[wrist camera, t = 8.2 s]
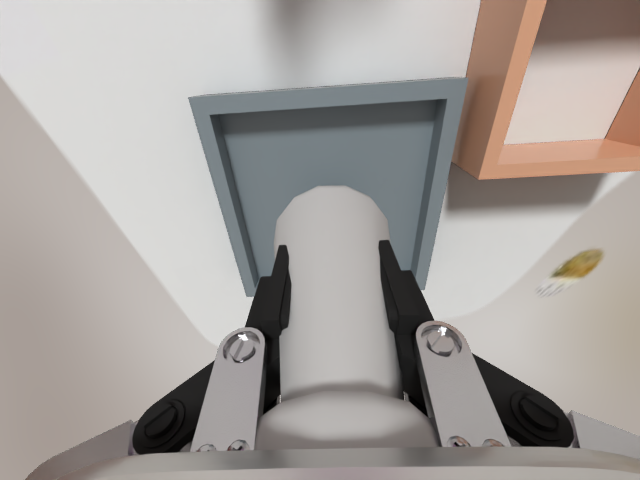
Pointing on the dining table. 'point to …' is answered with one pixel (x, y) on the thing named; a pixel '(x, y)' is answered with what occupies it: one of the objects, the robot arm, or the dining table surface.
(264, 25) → the dining table surface
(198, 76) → the dining table surface
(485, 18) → the open box
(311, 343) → the salt shaker
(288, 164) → the tray
